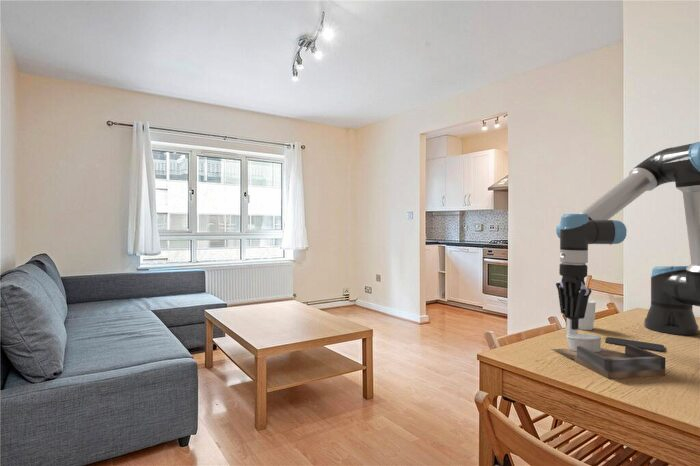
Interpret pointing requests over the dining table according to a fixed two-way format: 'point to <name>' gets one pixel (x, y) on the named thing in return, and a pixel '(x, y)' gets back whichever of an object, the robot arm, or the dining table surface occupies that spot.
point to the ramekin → (584, 342)
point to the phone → (636, 344)
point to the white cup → (588, 317)
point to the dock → (618, 361)
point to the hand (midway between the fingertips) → (571, 338)
